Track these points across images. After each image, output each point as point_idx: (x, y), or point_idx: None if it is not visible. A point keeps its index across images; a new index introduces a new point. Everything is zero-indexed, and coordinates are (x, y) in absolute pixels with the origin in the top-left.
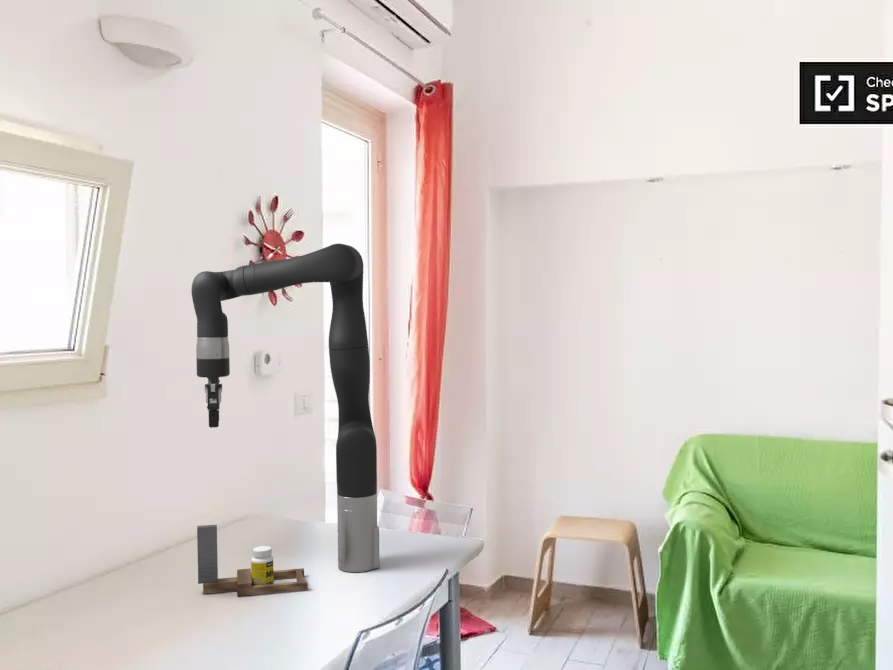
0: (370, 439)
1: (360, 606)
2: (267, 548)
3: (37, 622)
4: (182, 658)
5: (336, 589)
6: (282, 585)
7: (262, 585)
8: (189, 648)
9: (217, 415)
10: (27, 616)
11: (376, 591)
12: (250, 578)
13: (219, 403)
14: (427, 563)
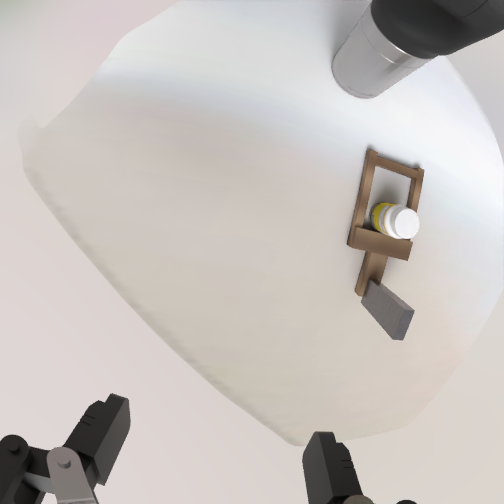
0: None
1: (473, 143)
2: (411, 216)
3: (344, 427)
4: (481, 322)
5: (428, 138)
6: (418, 201)
7: None
8: (473, 316)
9: (342, 478)
10: None
11: (446, 105)
12: (396, 239)
13: (68, 464)
14: None
